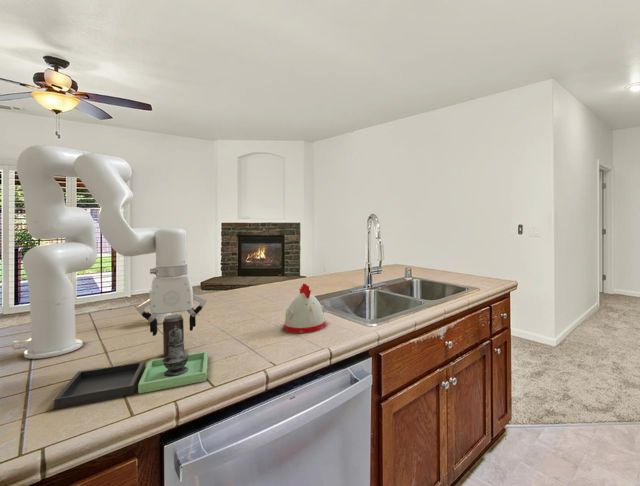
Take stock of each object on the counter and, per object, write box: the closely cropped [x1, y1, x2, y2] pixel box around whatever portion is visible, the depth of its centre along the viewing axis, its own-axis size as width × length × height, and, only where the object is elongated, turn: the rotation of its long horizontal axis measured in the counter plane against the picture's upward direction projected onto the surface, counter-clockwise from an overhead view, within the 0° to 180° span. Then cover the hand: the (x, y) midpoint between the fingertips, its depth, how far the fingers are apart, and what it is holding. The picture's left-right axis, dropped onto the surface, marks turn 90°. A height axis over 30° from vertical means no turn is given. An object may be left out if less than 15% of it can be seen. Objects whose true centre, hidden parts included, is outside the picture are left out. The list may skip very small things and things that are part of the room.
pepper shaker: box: [162, 313, 185, 358], centre depth 105 cm, size 5×5×11 cm
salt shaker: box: [162, 325, 190, 377], centre depth 92 cm, size 6×6×12 cm
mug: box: [148, 289, 172, 325], centre depth 136 cm, size 10×7×12 cm, turn 38°
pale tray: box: [137, 350, 209, 394], centre depth 92 cm, size 14×15×2 cm
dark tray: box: [53, 360, 146, 410], centre depth 86 cm, size 14×15×2 cm
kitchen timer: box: [284, 283, 326, 334], centre depth 129 cm, size 14×14×15 cm
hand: (173, 331), depth 105 cm, fingers open, 8 cm apart
